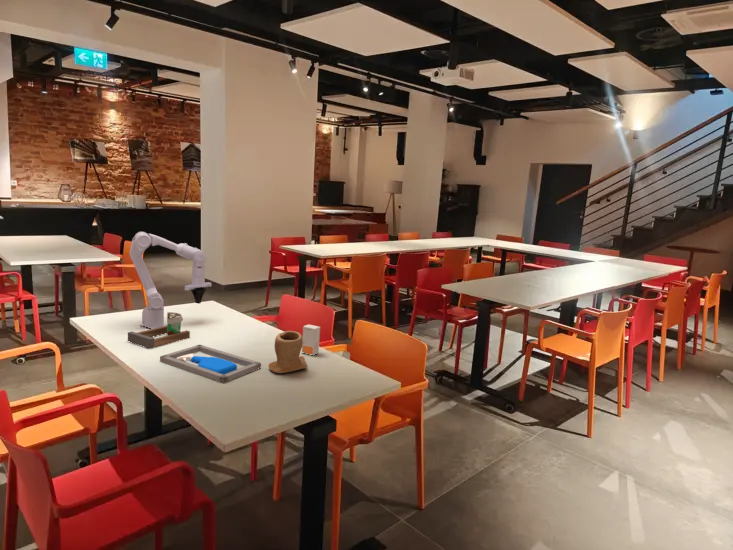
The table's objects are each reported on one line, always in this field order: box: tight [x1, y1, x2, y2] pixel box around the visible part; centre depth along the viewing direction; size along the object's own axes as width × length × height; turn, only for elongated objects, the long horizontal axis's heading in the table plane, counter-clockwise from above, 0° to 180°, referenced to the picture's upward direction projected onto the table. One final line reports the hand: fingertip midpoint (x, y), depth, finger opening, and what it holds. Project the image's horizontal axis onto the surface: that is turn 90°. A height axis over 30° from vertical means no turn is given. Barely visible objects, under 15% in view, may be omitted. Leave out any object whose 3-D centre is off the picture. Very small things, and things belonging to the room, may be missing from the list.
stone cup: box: [268, 330, 309, 374], centre depth 184 cm, size 15×12×15 cm
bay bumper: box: [127, 331, 155, 349], centre depth 200 cm, size 14×2×4 cm, turn 61°
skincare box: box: [301, 323, 321, 355], centre depth 204 cm, size 6×4×12 cm
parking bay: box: [136, 326, 191, 348], centre depth 209 cm, size 14×18×3 cm
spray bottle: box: [176, 353, 238, 375], centre depth 183 cm, size 3×11×24 cm
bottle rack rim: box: [159, 344, 262, 384], centre depth 184 cm, size 33×19×2 cm, turn 61°
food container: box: [166, 311, 184, 335], centre depth 212 cm, size 12×6×10 cm, turn 23°
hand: (198, 303), depth 233 cm, fingers closed
